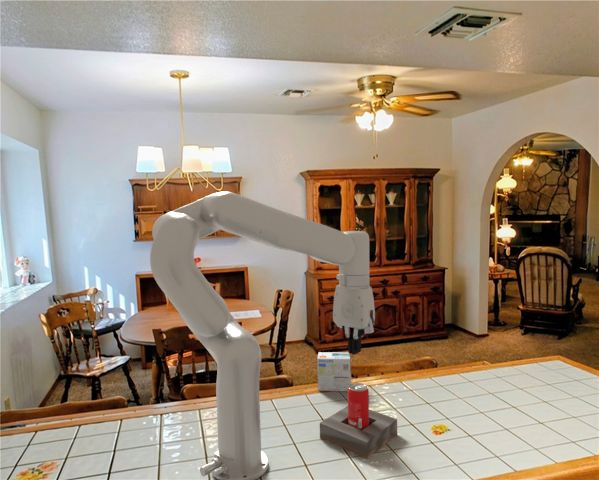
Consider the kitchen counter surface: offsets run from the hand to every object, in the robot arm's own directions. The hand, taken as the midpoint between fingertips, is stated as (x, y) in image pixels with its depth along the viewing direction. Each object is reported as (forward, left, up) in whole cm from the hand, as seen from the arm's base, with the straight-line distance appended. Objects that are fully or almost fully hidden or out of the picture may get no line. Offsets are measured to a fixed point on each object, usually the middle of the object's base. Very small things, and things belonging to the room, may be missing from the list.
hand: (354, 352), depth 108 cm
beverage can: (0, -1, -21) cm, 21 cm away
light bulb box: (+20, +22, -22) cm, 37 cm away
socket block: (0, -1, -22) cm, 22 cm away
